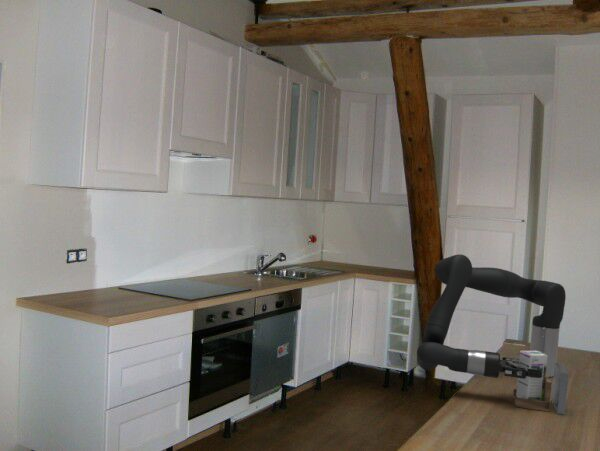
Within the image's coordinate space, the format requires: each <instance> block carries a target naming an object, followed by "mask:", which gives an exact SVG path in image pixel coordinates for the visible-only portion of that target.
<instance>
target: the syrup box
mask: <svg viewBox="0 0 600 451" xmlns="http://www.w3.org/2000/svg"><path fill="white" fill-rule="evenodd" d="M518 359H519V365H521V366H522V367H524V368H527V369H535V370H540V371H541V372H542V373H541V378H535V377H528V376H527V377H526V378H525V379H523V378H517V381H516V384H517V385H516V389H517V392H516V396H517V397H518V398H525V399H532V400H540V401H543V399H544V388H545V377H546V366H547V355H546V354H544V353H542V352H539V351H530V350H520V351H519V358H518ZM521 373H522V371H521Z"/></svg>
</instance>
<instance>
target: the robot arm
mask: <svg viewBox="0 0 600 451" xmlns="http://www.w3.org/2000/svg"><path fill="white" fill-rule="evenodd" d="M434 274H435V277H436V278H437V280H438V281H439V282H440V283H441V284H443V285H445V288H443V291H442V293H441V295H440V297H439V298H438V299H437V300H436V302H435V304H434V305H433V307H432V309H431V310H430V313H429V314H428V317H427V320H426V324H425V327H424V333H423V339H422V341H421V344H420V345H418V347H417V349H416V361H417V363H418V366H419V367H420V368H421V369H422V370H424V371H432V370H435V369H436V368H437V367H439V366H441V367H442V366H443V367H446V368H448V370H450V371H451V372H452V371H453V372H457V373H465V374H468V375H469V374H470V375H474V376H479V377H480V376H481V377H485V378H486V377H489V378H495V379H497V378H499V374H500V373H504V376H505V377H510V378H517V379H518V378H523V379H525V378H526V377H527V376H528V377H535V378H541V373H542V372H541V371H540V370H535V369H527V368H524V367H522V366H521V365H519V358H514V357H505V356H504V357H502V359H501V354H500V353H499V352H494V351H489V350H488V351H486V350H477V349H464V348H458V347H457V348H456V347H451V346H449V345H445V344H444V343H445V340H446V338H447V336H448V331H449V328H450V326H451V322H452V318H453V316H454V313H455V311H456V308H457V306H458V304H459V301H460V299H461V296H462V295H463V293H464V292H465V291H464V290H465V289H466V288H469V289H473V290H476V291H479V292H483V293H486V294H487V293H488V294H491V295H495V296H499V297H502V298H511V299H512V298H515V299H516V298H517V299H522V300H525V301H528V302H530V303H532V304H535V305H537V306H540V307H542V312H541V314H539V315H535V316H533V317H532V324H531V333H530V335H531V336H530V345H529V351H539V352H542V353H544V354H546V355H547V366H546V374H547V375H548V377H549V378H551V377H552V378H554V368H555V363H557V359H558V349H559V338H560V326H561V323H562V321H563V319H564V312H565V305H566V299H567V297H566V290H565V287H564V286H563V285H562V284H560V283H557V282H553V281H548V280H540V279H530V278H526V277H522V276H520V274H518V273H516V272H512V271H510V270H508V269H507V270H506V269H502V268H499V267H498V268H497V267H485V266H484V267H473V264H472V262H471V260H470V259H469V257H468V256H466V255H464V254H460V253H459V254H455V255H451V256H448V257H445V258H443V259H441V260H439V261H438V262H437V263H436V264H435V267H434ZM521 371H522V373H521Z"/></svg>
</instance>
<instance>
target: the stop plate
mask: <svg viewBox="0 0 600 451" xmlns="http://www.w3.org/2000/svg"><path fill="white" fill-rule="evenodd" d="M552 380H553V381H552V389H551V399H550V403H552V406H553V408H554V410H555V412H556V414H557V415H563V416H564V415H566V405H567V393H568V382H569V372H568V371H567V369H566V368H565V367H564V365H563V364H562V363H557V362H556V363H555V368H554V376H553V379H552Z"/></svg>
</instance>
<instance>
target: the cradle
mask: <svg viewBox="0 0 600 451" xmlns="http://www.w3.org/2000/svg"><path fill="white" fill-rule="evenodd" d="M552 386H553V381H551V378H550V377H548V375H547V374H546V377H545V388H544V399H543V401H540V400H532V399H525V398H518V397H517V396H516V392H517V388H513V393H512V398H513V402H514V405H515V407H516V408H521V409H529V410H535V411H543V412H550V405H551V397H552Z"/></svg>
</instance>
